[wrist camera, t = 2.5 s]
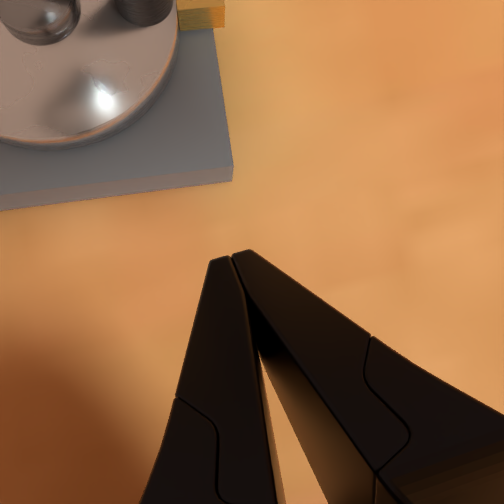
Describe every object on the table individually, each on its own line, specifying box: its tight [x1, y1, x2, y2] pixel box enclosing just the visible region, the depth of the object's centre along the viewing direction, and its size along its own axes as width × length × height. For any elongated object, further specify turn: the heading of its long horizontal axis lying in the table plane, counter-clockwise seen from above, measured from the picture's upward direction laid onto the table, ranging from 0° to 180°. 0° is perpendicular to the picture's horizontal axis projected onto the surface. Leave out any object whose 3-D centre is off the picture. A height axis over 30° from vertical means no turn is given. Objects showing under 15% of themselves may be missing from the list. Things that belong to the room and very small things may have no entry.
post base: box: [0, 26, 234, 211], centre depth 20 cm, size 14×14×6 cm
